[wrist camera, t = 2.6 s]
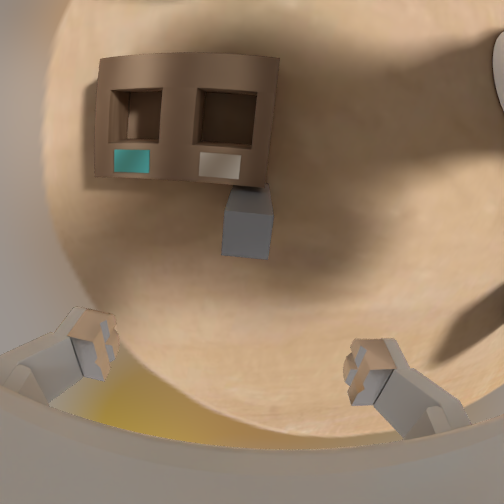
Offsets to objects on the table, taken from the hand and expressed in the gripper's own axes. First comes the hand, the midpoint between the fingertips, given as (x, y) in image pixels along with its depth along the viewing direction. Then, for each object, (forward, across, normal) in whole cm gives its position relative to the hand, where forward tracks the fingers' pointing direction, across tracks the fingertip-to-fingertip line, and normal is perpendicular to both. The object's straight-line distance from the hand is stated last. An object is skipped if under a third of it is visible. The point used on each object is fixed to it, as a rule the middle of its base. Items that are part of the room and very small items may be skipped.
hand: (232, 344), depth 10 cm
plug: (+19, 0, 0) cm, 19 cm away
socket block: (+19, +6, -7) cm, 21 cm away
